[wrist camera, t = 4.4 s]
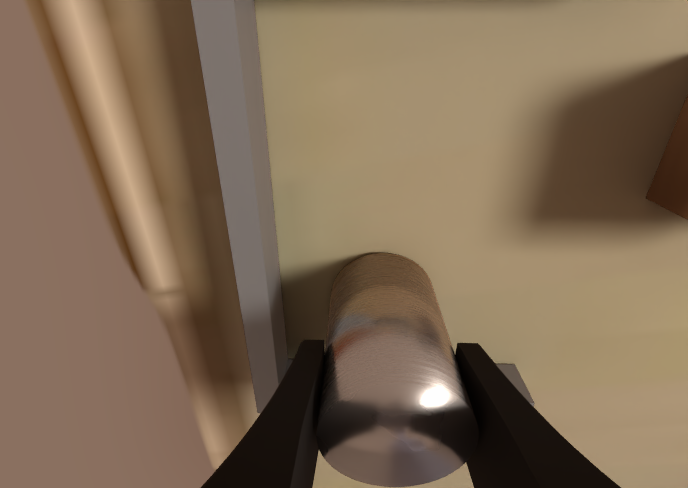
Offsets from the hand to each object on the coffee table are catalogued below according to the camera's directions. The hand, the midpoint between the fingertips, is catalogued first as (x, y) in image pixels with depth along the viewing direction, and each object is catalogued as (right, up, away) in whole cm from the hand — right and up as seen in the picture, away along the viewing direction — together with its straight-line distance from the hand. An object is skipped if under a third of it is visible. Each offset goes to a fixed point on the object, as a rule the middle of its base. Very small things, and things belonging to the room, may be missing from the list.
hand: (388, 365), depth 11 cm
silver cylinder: (0, +2, +3) cm, 3 cm away
